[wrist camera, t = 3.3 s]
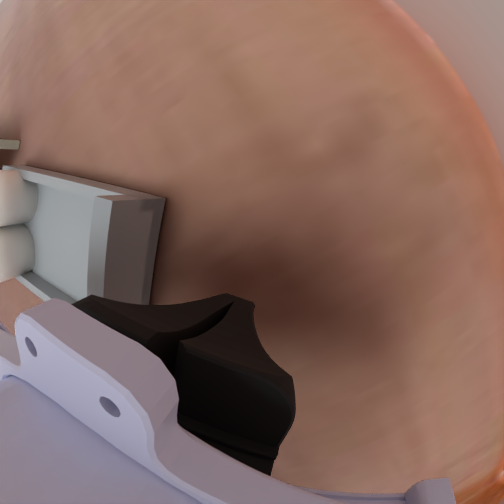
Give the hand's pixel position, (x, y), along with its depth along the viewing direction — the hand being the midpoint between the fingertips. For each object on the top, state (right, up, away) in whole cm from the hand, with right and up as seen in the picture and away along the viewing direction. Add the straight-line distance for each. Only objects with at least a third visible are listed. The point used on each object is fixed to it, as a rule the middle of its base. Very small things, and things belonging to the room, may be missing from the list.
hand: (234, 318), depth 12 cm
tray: (-11, +4, +3) cm, 13 cm away
